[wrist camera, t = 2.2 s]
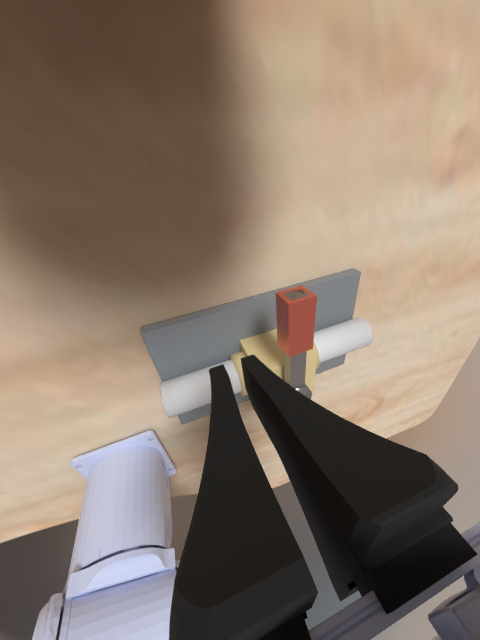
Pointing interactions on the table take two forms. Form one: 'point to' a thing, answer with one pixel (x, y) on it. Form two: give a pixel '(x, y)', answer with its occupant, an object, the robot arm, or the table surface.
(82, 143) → the table surface
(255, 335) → the board
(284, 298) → the lever
